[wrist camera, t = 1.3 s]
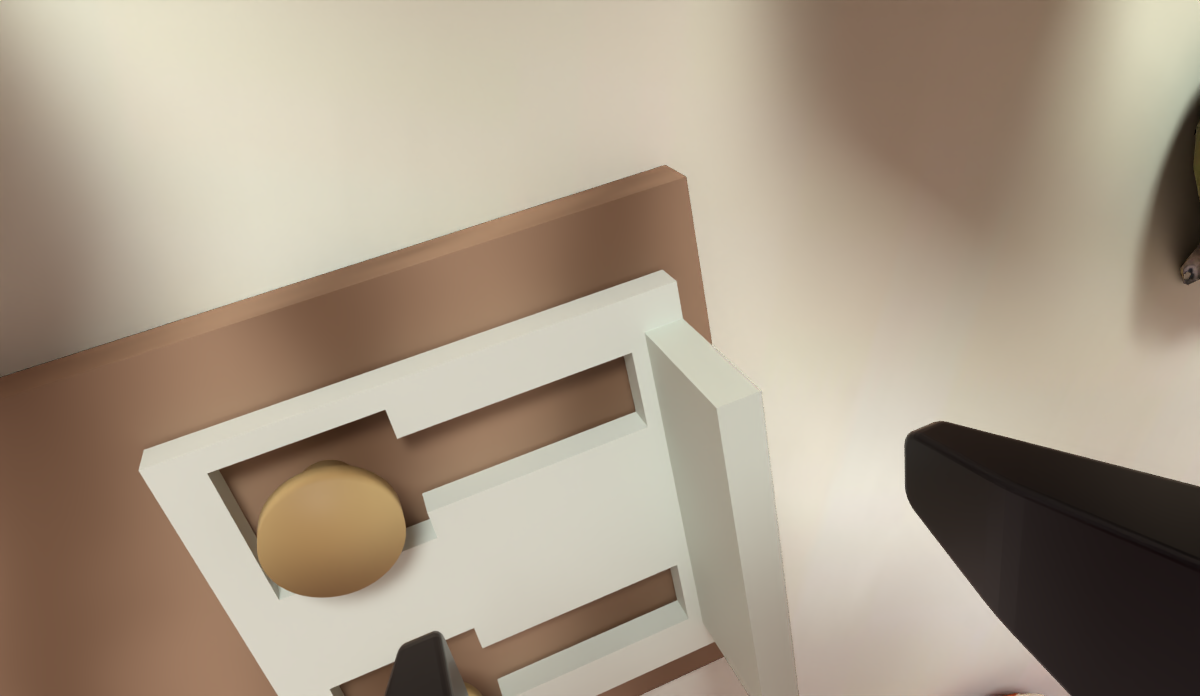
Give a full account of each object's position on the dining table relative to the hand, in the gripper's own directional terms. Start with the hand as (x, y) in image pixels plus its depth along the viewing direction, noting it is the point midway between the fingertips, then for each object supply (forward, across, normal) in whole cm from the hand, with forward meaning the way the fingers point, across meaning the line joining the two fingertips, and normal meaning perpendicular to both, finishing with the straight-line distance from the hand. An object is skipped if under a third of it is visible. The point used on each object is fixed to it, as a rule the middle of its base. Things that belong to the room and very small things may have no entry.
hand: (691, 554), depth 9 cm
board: (+12, +4, +8) cm, 15 cm away
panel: (+11, +2, +8) cm, 14 cm away
